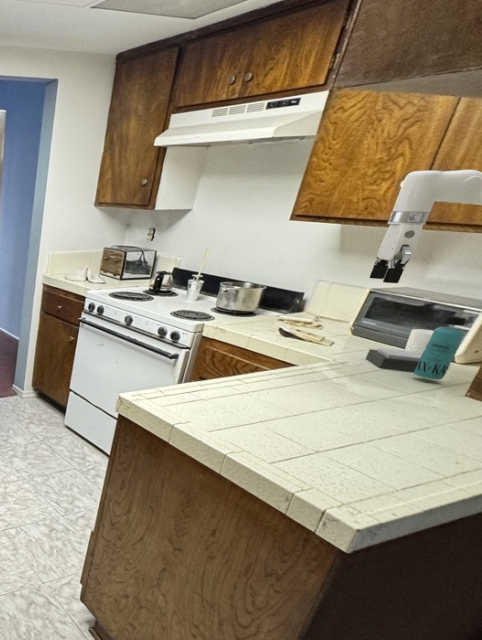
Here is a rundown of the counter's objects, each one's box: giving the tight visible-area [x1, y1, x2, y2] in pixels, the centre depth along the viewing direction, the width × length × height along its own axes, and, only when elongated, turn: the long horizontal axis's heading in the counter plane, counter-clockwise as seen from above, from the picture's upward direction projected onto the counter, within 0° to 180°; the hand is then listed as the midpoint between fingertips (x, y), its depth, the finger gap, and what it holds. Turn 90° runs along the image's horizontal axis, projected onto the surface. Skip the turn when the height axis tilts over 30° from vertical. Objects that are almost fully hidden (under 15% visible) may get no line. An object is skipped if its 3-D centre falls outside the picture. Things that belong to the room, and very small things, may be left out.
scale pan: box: [376, 347, 421, 361], centre depth 156 cm, size 9×9×2 cm
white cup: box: [404, 328, 434, 356], centre depth 163 cm, size 8×8×10 cm
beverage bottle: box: [413, 315, 467, 380], centre depth 140 cm, size 6×7×20 cm
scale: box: [365, 348, 419, 373], centre depth 157 cm, size 12×12×4 cm
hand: (383, 280), depth 138 cm, fingers open, 9 cm apart
